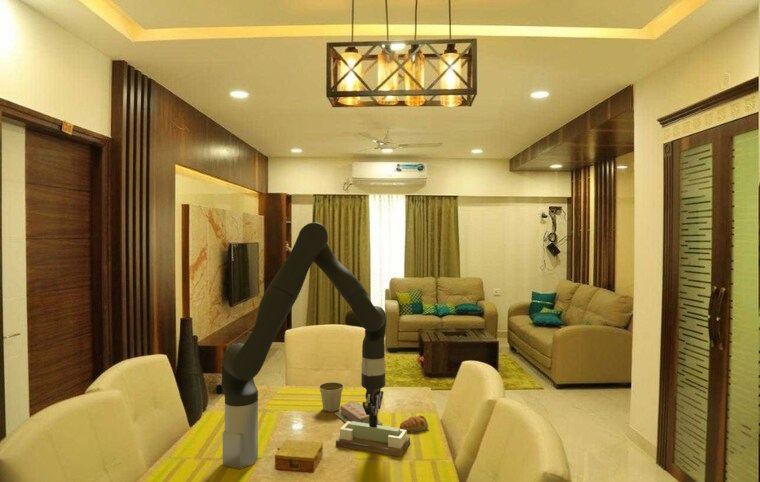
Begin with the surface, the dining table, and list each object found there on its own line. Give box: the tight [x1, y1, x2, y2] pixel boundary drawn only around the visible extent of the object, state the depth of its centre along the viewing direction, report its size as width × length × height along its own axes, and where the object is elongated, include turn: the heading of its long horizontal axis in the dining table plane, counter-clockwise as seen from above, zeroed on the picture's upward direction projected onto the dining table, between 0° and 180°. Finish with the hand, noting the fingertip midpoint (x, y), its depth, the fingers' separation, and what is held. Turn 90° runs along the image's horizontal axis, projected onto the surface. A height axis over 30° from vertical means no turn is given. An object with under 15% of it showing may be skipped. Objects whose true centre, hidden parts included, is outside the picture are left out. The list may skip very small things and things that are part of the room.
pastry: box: [399, 414, 429, 433], centre depth 155 cm, size 9×7×4 cm
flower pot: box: [318, 381, 345, 413], centre depth 172 cm, size 9×9×9 cm
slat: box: [349, 421, 400, 443], centre depth 143 cm, size 2×16×4 cm, turn 70°
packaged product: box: [334, 400, 383, 426], centre depth 162 cm, size 18×5×10 cm
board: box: [335, 436, 411, 457], centre depth 143 cm, size 10×21×2 cm, turn 70°
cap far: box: [339, 421, 353, 440], centre depth 146 cm, size 6×4×3 cm, turn 160°
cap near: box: [388, 429, 408, 449], centre depth 140 cm, size 6×4×3 cm, turn 160°
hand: (373, 426), depth 143 cm, fingers closed
